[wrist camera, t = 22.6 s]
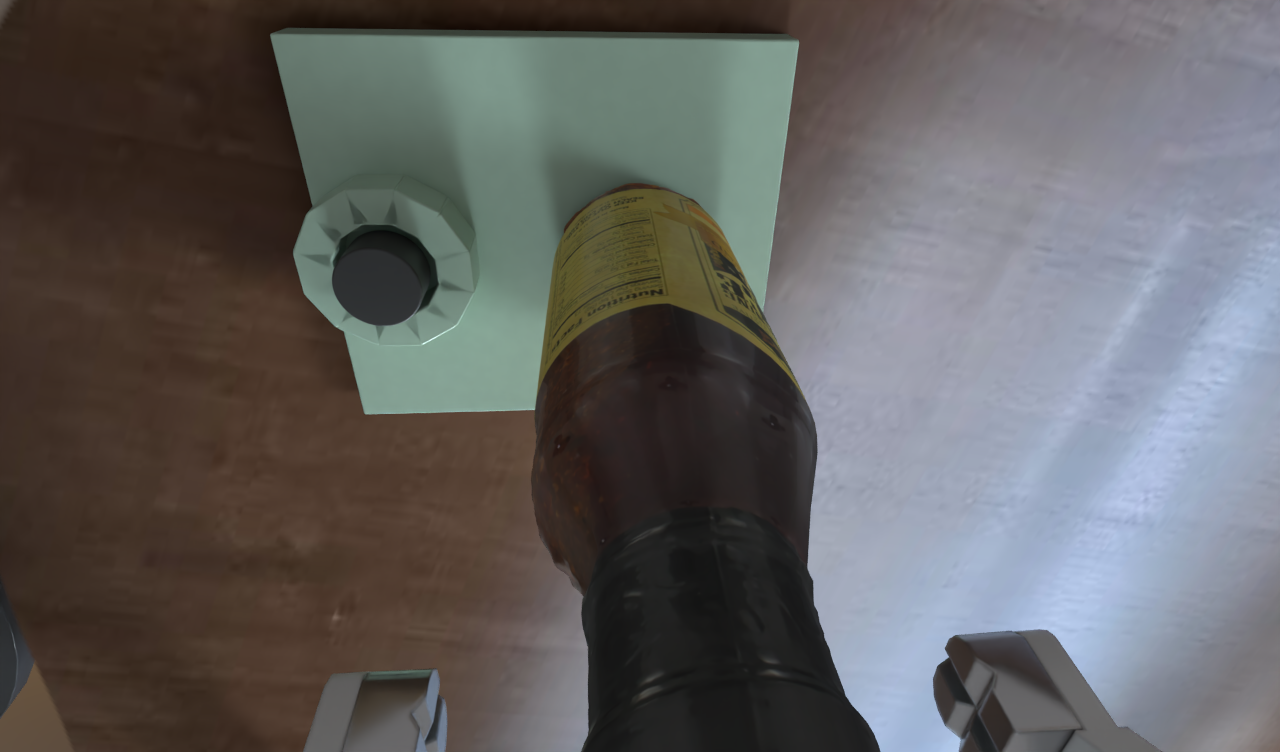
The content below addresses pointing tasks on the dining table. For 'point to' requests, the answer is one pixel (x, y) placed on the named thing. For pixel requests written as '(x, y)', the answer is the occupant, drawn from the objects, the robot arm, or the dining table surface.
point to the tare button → (381, 278)
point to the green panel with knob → (514, 176)
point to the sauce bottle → (681, 491)
